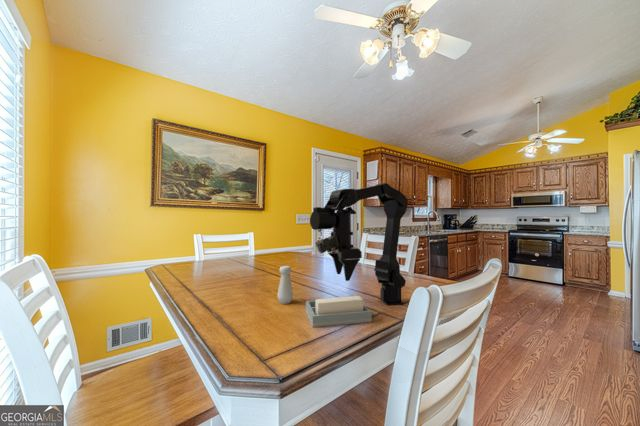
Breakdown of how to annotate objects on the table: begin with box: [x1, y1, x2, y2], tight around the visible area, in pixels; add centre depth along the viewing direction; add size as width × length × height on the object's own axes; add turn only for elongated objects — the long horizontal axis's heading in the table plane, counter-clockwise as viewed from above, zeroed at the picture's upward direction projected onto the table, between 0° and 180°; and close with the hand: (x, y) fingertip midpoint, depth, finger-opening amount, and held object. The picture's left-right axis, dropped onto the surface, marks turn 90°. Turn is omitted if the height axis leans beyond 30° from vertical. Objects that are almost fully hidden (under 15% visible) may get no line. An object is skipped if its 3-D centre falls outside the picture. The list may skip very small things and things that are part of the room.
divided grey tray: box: [305, 300, 373, 328], centre depth 79 cm, size 18×13×3 cm
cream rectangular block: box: [314, 295, 364, 315], centre depth 76 cm, size 14×4×5 cm, turn 104°
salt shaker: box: [277, 265, 294, 305], centre depth 92 cm, size 6×6×13 cm
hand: (342, 277), depth 80 cm, fingers open, 9 cm apart
